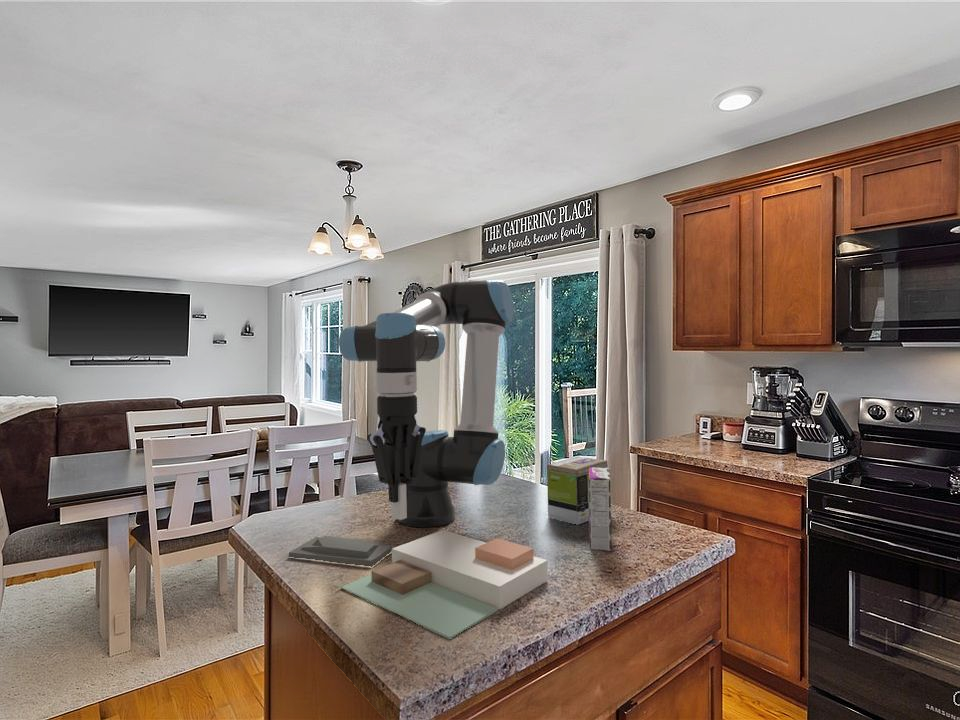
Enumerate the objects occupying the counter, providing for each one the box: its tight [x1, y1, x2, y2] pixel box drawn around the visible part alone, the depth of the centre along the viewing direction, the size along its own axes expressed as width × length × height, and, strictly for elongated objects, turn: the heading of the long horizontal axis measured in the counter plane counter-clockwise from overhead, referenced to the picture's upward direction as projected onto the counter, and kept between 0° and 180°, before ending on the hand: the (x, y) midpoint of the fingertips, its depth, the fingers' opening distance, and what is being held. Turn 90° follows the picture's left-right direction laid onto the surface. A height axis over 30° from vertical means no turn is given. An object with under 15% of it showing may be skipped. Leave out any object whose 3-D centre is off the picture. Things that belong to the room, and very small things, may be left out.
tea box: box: [546, 456, 609, 526], centre depth 144 cm, size 15×10×15 cm, turn 134°
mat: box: [340, 573, 499, 640], centre depth 96 cm, size 28×12×1 cm, turn 50°
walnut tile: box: [371, 560, 431, 595], centre depth 102 cm, size 9×7×2 cm
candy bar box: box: [588, 467, 612, 552], centre depth 124 cm, size 11×5×16 cm, turn 168°
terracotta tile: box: [475, 537, 535, 570], centre depth 104 cm, size 9×7×2 cm
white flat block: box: [391, 529, 548, 611], centre depth 106 cm, size 28×15×4 cm, turn 50°
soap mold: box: [288, 535, 394, 567], centre depth 117 cm, size 10×20×4 cm, turn 73°
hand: (399, 517), depth 102 cm, fingers closed
